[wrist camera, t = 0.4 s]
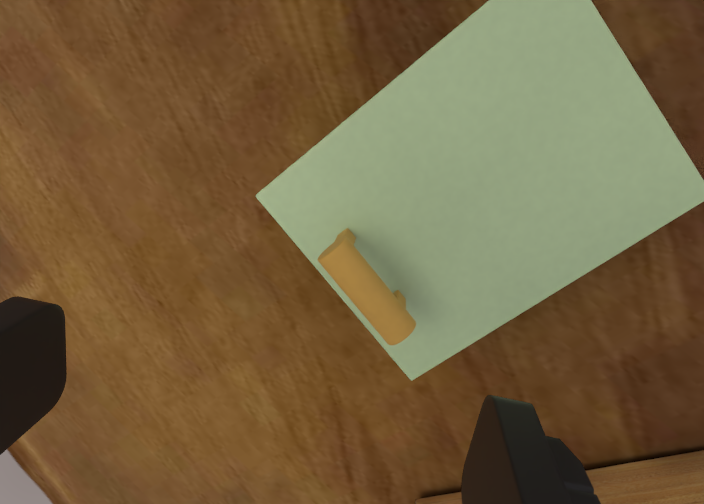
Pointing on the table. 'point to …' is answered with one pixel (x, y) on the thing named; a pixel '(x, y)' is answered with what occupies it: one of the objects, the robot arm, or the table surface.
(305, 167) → the cover
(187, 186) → the table surface
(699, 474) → the tray
